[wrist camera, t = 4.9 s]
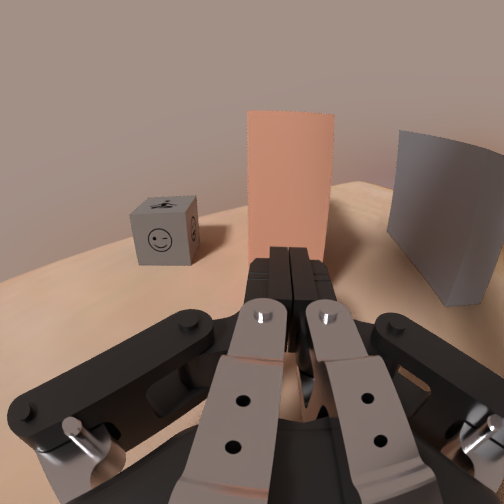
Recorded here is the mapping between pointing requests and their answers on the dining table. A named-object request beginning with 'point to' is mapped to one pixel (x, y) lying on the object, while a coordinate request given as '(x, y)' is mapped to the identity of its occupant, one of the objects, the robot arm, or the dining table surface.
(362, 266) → the dining table surface
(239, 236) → the dining table surface
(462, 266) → the slate slab
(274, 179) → the terracotta slab
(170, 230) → the dice cube
